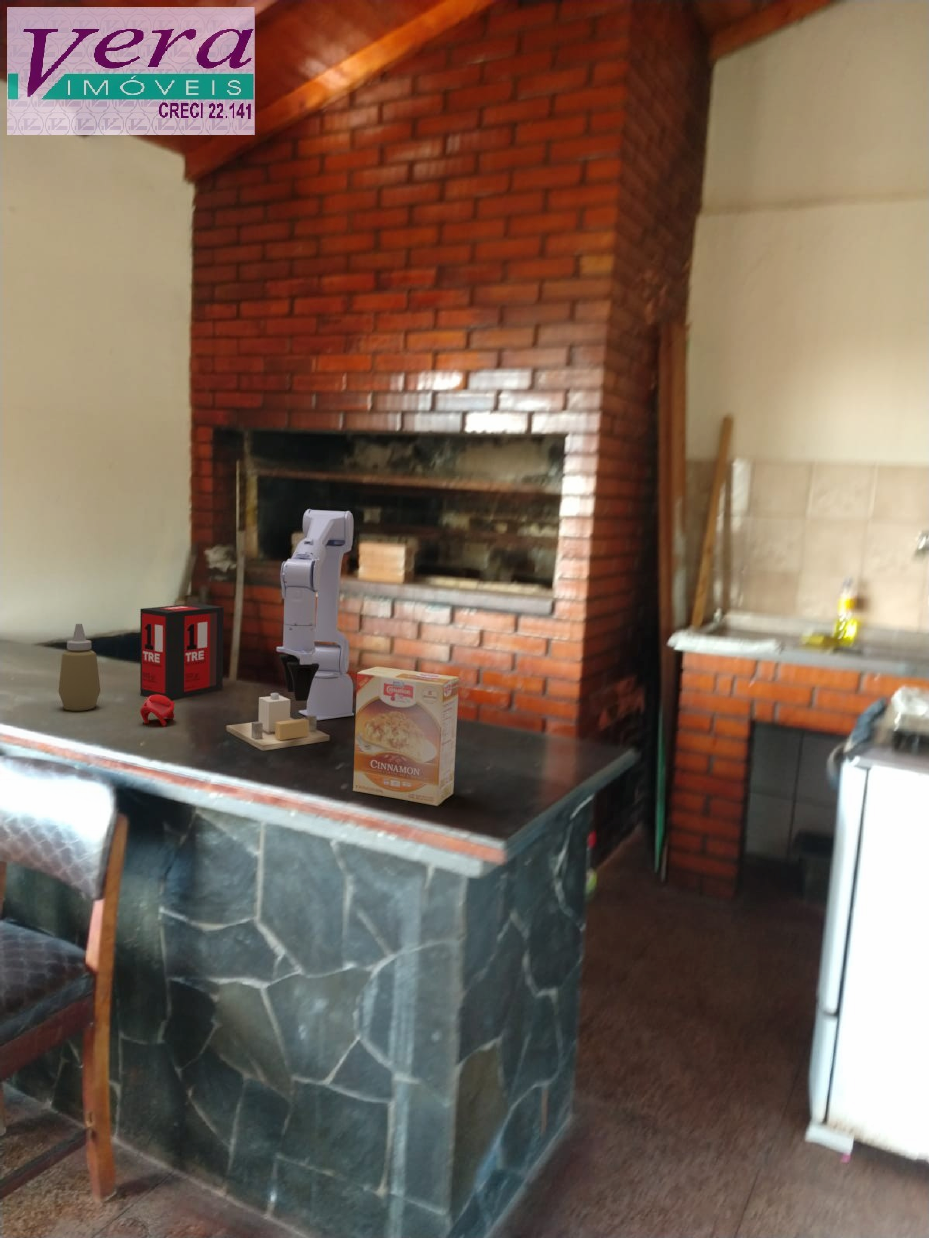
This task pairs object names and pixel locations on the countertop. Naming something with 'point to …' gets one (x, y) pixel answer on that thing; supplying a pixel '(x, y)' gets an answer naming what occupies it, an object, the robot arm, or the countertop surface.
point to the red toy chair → (158, 708)
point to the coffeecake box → (405, 734)
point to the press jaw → (291, 729)
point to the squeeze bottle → (79, 674)
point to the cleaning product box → (181, 650)
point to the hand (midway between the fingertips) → (297, 695)
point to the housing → (273, 711)
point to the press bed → (267, 741)
